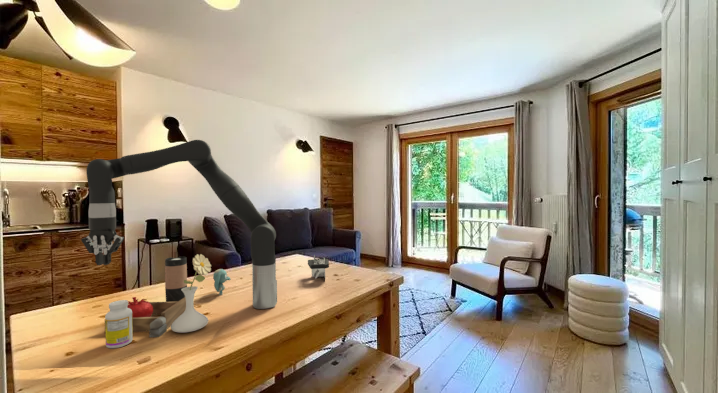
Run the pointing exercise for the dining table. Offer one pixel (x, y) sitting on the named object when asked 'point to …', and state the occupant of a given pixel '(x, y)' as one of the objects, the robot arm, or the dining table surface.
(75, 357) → the dining table surface
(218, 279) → the teal character figurine
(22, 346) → the dining table surface
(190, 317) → the flower in vase
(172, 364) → the dining table surface
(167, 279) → the travel mug
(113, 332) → the supplement bottle
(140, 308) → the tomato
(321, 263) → the black-topped pedestal
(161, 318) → the brown wooden open box
